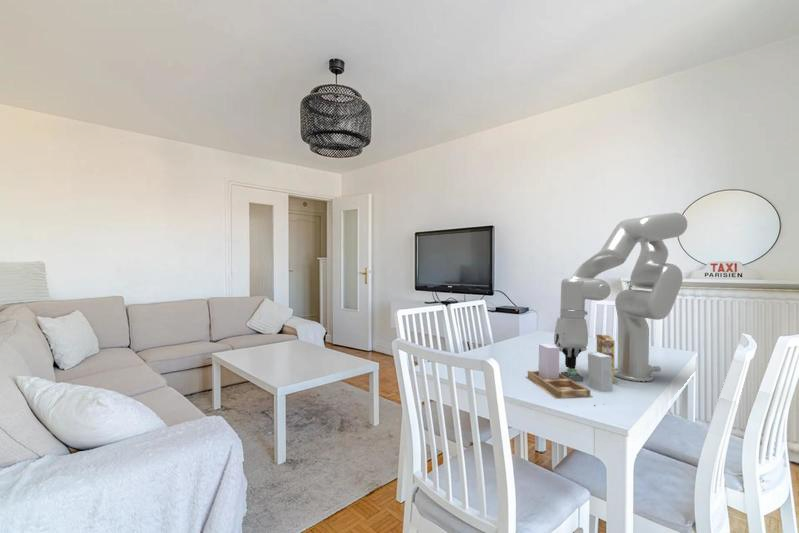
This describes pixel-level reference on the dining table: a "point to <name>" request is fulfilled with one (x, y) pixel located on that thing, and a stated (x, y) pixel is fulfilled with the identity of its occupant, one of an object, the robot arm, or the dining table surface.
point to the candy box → (606, 348)
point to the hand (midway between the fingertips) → (570, 367)
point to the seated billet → (548, 361)
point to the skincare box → (600, 371)
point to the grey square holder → (573, 377)
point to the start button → (571, 372)
